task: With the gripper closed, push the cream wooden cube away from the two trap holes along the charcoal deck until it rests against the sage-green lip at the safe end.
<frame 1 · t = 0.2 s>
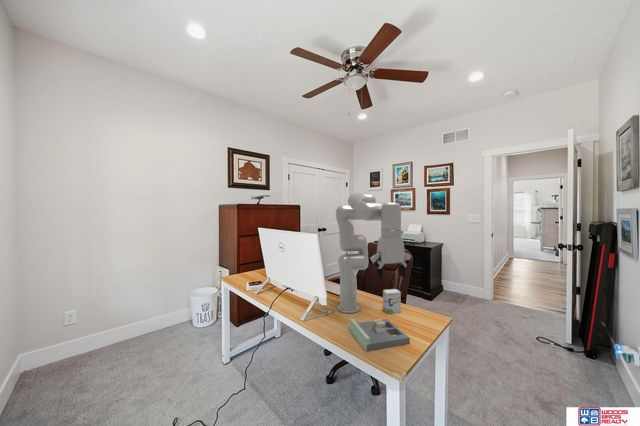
hand: (391, 277, 93), 31 cm above the table, tool pointing down, fingers open, 9 cm apart
ink box: (391, 311, 132), on the table
trap deck: (378, 335, 107), on the table
cream block: (379, 330, 107), point 2 cm above the table, touching trap deck
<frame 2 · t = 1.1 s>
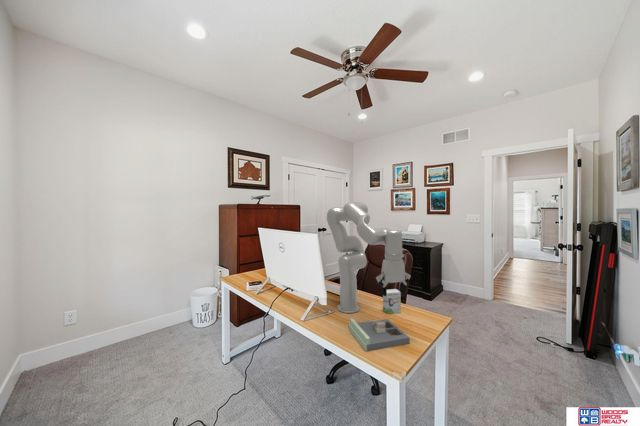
hand: (393, 294, 108), 18 cm above the table, tool pointing down, fingers open, 9 cm apart
nothing on the table moved.
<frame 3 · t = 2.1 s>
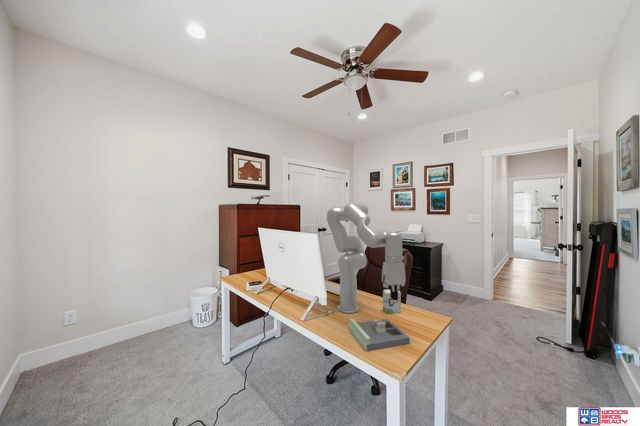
hand: (394, 299, 108), 16 cm above the table, tool pointing down, fingers closed
nothing on the table moved.
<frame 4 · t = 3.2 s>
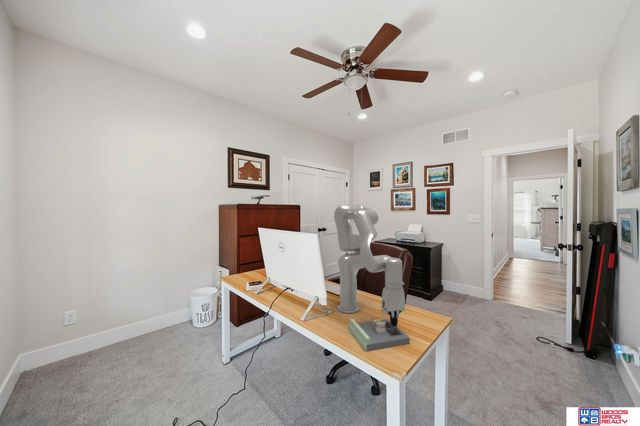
hand: (393, 324, 109), 4 cm above the table, tool pointing down, fingers closed
nothing on the table moved.
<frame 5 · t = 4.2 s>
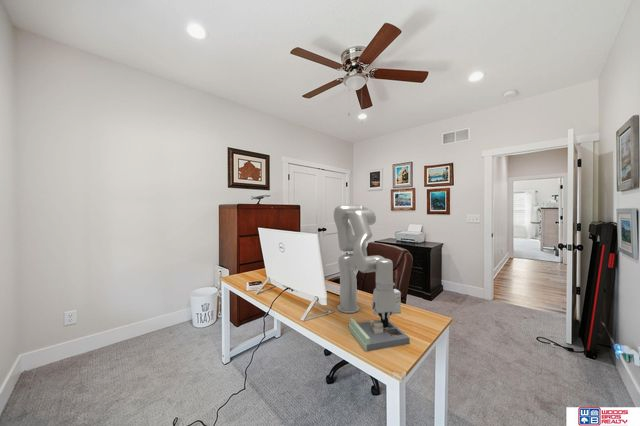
hand: (384, 326, 107), 4 cm above the table, tool pointing down, fingers closed
cream block: (376, 331, 106), point 3 cm above the table, touching gripper, trap deck
everything else where it was.
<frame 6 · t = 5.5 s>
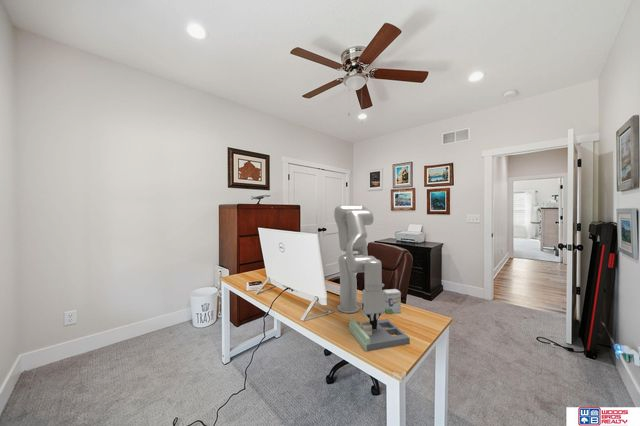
hand: (373, 327, 106), 4 cm above the table, tool pointing down, fingers closed
cream block: (365, 333, 104), point 2 cm above the table, touching gripper, trap deck
everything else where it was.
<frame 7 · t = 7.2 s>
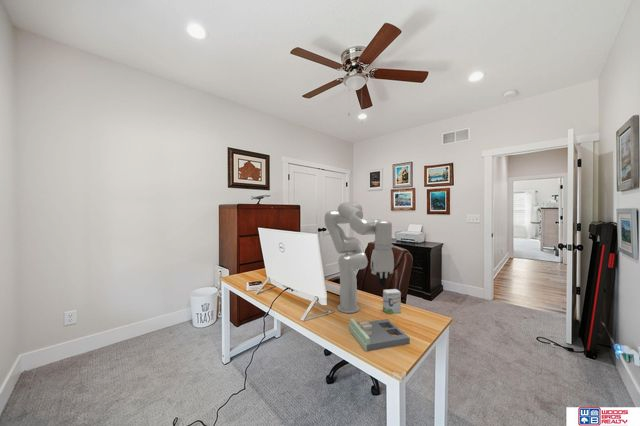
hand: (382, 285, 111), 21 cm above the table, tool pointing down, fingers closed
cream block: (365, 333, 104), point 2 cm above the table, touching trap deck
everything else where it was.
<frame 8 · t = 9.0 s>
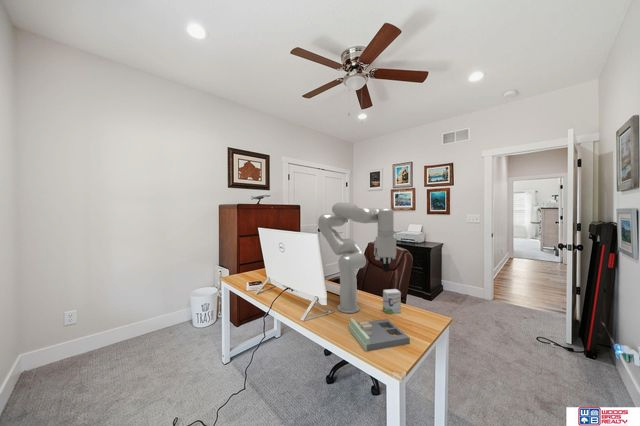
hand: (385, 271, 115), 27 cm above the table, tool pointing down, fingers closed
nothing on the table moved.
at the end: cream block 1.1 cm from the target spot on the trap deck, point 2.5 cm above the trap deck's base; cream block touching trap deck; cream block tilted 0° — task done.
